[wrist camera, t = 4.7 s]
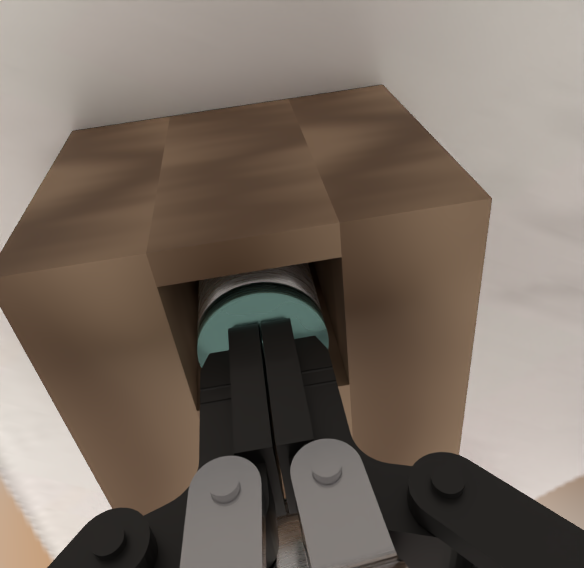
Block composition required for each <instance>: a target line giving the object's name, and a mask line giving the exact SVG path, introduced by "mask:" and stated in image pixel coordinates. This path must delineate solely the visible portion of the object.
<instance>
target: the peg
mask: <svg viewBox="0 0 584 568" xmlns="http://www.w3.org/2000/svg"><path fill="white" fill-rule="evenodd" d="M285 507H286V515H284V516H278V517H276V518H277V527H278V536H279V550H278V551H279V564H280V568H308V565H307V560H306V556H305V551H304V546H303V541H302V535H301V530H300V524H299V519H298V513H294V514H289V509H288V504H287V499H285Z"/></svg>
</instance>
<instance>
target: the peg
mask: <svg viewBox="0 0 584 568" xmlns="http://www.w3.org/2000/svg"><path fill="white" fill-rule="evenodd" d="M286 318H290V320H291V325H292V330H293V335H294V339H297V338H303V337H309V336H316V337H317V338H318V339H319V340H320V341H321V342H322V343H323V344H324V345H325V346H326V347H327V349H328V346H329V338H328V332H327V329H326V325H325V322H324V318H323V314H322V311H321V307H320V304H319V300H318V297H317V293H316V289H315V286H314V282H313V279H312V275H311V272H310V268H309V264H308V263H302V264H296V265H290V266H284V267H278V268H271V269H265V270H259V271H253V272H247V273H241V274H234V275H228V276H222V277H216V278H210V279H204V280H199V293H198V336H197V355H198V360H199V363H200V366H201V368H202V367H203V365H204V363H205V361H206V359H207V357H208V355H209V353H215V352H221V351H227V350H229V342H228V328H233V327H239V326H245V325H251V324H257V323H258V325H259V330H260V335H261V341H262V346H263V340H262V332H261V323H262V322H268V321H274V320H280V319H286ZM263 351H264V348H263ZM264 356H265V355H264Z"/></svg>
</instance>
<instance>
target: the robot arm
mask: <svg viewBox="0 0 584 568" xmlns="http://www.w3.org/2000/svg"><path fill="white" fill-rule="evenodd" d="M261 332H262V340H263V346H262V341H261V335H260V330H259V325H258V323H257V324H251V325H245V326H239V327H233V328H228V342H229V350H227V351H221V352H215V353H209V355H208V357H207V359H206V361H205V363H204V365H203V367H202V368H201V370H200V391H201V392H200V429H199V466H198V470H197V473H196V474H195V475H194V477H193V479H192V481H191V483H190V486H189V487H188V488H187V489H186V490H185V491H184V492H183V493H182V494H181V495H180V496H179V497H177V498H176V499H175V500H173V501H171V502H170V503H168V504H166V505H164V506H162V507H160V508H158V509H156V510H154V511H152V512H150V513H148V514H146V515H144V516H143V515H142V514H141V513H140V512H138V511H136V510H134V509H131V508H114V509H111V510H107V511H105V512H103V513H101V514H99V515H97V516H96V517H94V518H93V519H92V520H91V521H89V522H88V523H87V524H86V525H85V526H84V527H83V528H82V529H81V531H80V532H79V533H78V534H77V535H76V536H75V537H74V538H73V540H72V541H71V542H70V543H69V544H68V545H67V546H66V547H65V548H64V550H63V551H62V552H61V553H60V554H59V555H58V556H57V557H56V559H55V560H54V561H53V562H52V563H51V564H50V565H49V566H48V568H280V564H279V551H278V550H279V536H278V527H277V518H276V517H278V516H284V515H286V507H285V499H284V492H283V484H284V489H285V494H286V499H287V504H288V509H289V514H294V513H298V519H299V524H300V530H301V535H302V541H303V546H304V551H305V556H306V560H307V565H308V568H584V530H582V529H581V528H579V527H577V526H576V525H574V524H573V523H571V522H569V521H567V520H566V519H564V518H563V517H561V516H559V515H558V514H556V513H554V512H553V511H551V510H550V509H548V508H546V507H545V506H543V505H541V504H540V503H538V502H537V501H535V500H533V499H532V498H530V497H528V496H527V495H525V494H524V493H522V492H520V491H519V490H517V489H515V488H514V487H512V486H510V485H509V484H507V483H506V482H504V481H502V480H501V479H499V478H497V477H496V476H494V475H492V474H491V473H489V472H488V471H486V470H484V469H483V468H481V467H479V466H478V465H476V464H474V463H473V462H471V461H470V460H468V459H466V458H464V457H462V456H460V455H457V454H454V453H449V452H435V453H430V454H427V455H425V456H423V457H421V458H420V459H418V460H417V461H416V462H415V463H414V465H413V466H407V465H399V464H391V463H385V462H381V461H378V460H375V459H373V458H371V457H369V456H368V455H366V454H365V453H364V452H363V451H361V450H360V449H359V448H358V446H357V445H356V444H355V442H354V440H353V438H352V436H351V433H350V429H349V425H348V422H347V418H346V414H345V411H344V407H343V403H342V399H341V396H340V392H339V388H338V385H337V382H336V377H335V374H334V370H333V367H332V362H331V359H330V355H329V351H328V349H327V347H326V346H325V345H324V344H323V343H322V342H321V341H320V340H319V339H318V338H317V337H316V336H309V337H303V338H297V339H294V335H293V330H292V325H291V320H290V318H286V319H280V320H274V321H268V322H262V323H261ZM263 348H264V351H263ZM264 355H265V356H264ZM281 474H282V476H281ZM282 479H283V484H282Z"/></svg>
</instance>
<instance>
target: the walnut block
mask: <svg viewBox="0 0 584 568" xmlns="http://www.w3.org/2000/svg"><path fill="white" fill-rule="evenodd" d="M491 202H492V198H491V197H490V196H489V195H488V194H487V193H486V192H485V190H484V189H483V188H482V187H481V186H480V185H479V184H478V183H477V182H476V181H475V180H474V179H473V178H472V177H471V176H470V175H469V174H468V173H467V172H466V171H465V170H464V169H463V168H462V167H461V166H460V164H459V163H458V162H457V161H456V160H455V159H454V158H453V157H452V156H451V155H450V154H449V153H448V152H447V151H446V150H445V149H444V148H443V147H442V146H441V145H440V144H439V143H438V142H437V141H436V140H435V138H434V137H433V136H432V135H431V134H430V133H429V132H428V131H427V130H426V129H425V128H424V127H423V126H422V125H421V124H420V123H419V122H418V121H417V120H416V119H415V118H414V117H413V116H412V115H411V114H410V112H409V111H408V110H407V109H406V108H405V107H404V106H403V105H402V104H401V103H400V102H399V101H398V100H397V99H396V98H395V97H394V96H393V95H392V94H391V93H390V92H389V91H388V90H387V89H386V88H385V86H384V85H378V86H371V87H364V88H358V89H351V90H344V91H338V92H331V93H324V94H317V95H311V96H304V97H297V98H291V99H284V100H277V101H270V102H264V103H257V104H250V105H244V106H237V107H230V108H223V109H217V110H210V111H203V112H197V113H190V114H183V115H176V116H170V117H163V118H156V119H150V120H143V121H136V122H130V123H123V124H116V125H109V126H103V127H96V128H89V129H83V130H76V131H72V132H71V134H70V136H69V138H68V139H67V141H66V143H65V144H64V146H63V148H62V149H61V151H60V153H59V154H58V156H57V158H56V160H55V161H54V163H53V165H52V166H51V168H50V170H49V171H48V173H47V175H46V177H45V178H44V180H43V182H42V183H41V185H40V187H39V188H38V190H37V192H36V193H35V195H34V197H33V199H32V200H31V202H30V204H29V205H28V207H27V209H26V210H25V212H24V214H23V215H22V217H21V219H20V221H19V222H18V224H17V226H16V227H15V229H14V231H13V232H12V234H11V236H10V238H9V239H8V241H7V243H6V244H5V246H4V248H3V249H2V251H1V253H0V307H1V309H2V311H3V313H4V314H5V316H6V318H7V320H8V322H9V323H10V325H11V327H12V329H13V331H14V332H15V334H16V336H17V338H18V340H19V341H20V343H21V345H22V347H23V349H24V350H25V352H26V354H27V356H28V358H29V359H30V361H31V363H32V365H33V367H34V368H35V370H36V372H37V374H38V376H39V377H40V379H41V381H42V383H43V385H44V386H45V388H46V390H47V392H48V394H49V395H50V397H51V399H52V401H53V403H54V404H55V406H56V408H57V410H58V412H59V413H60V415H61V417H62V419H63V421H64V422H65V424H66V426H67V428H68V430H69V431H70V433H71V435H72V437H73V439H74V440H75V442H76V444H77V446H78V448H79V449H80V451H81V453H82V455H83V457H84V458H85V460H86V462H87V464H88V466H89V467H90V469H91V471H92V473H93V475H94V476H95V478H96V480H97V482H98V484H99V485H100V487H101V489H102V491H103V493H104V494H105V496H106V498H107V500H108V502H109V503H110V505H111V507H112V509H114V508H131V509H134V510H136V511H138V512H140V513H141V514H142V515H143V516H144V515H146V514H148V513H150V512H152V511H154V510H156V509H158V508H160V507H162V506H164V505H166V504H168V503H170V502H171V501H173V500H175V499H176V498H177V497H179V496H180V495H181V494H182V493H183V492H184V491H185V490H186V489H187V488H188V487H189V486H190V483H191V481H192V479H193V477H194V475H195V474H196V473H197V470H198V466H199V429H200V392H201V391H200V370H201V366H200V363H199V360H198V355H197V336H198V293H199V280H204V279H210V278H216V277H222V276H228V275H234V274H241V273H247V272H253V271H259V270H265V269H271V268H278V267H284V266H290V265H296V264H302V263H308V264H309V268H310V272H311V275H312V279H313V282H314V286H315V289H316V293H317V297H318V300H319V304H320V307H321V311H322V314H323V318H324V322H325V325H326V329H327V332H328V338H329V346H328V351H329V355H330V359H331V362H332V367H333V370H334V374H335V377H336V382H337V385H338V388H339V392H340V396H341V399H342V403H343V407H344V411H345V414H346V418H347V422H348V425H349V429H350V433H351V436H352V438H353V440H354V442H355V444H356V445H357V446H358V448H359V449H360V450H361V451H363V452H364V453H365V454H366V455H368V456H369V457H371V458H373V459H375V460H378V461H381V462H385V463H391V464H399V465H407V466H413V465H414V463H415V462H416V461H417V460H418V459H420V458H421V457H423V456H425V455H427V454H430V453H435V452H449V453H454V454H457V455H459V449H460V442H461V434H462V426H463V418H464V411H465V403H466V395H467V388H468V380H469V372H470V364H471V357H472V349H473V341H474V334H475V326H476V318H477V310H478V303H479V295H480V287H481V280H482V272H483V264H484V256H485V249H486V241H487V233H488V225H489V218H490V210H491ZM281 476H282V474H281ZM282 484H283V479H282ZM283 492H284V499H286V494H285V489H284V484H283Z"/></svg>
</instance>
